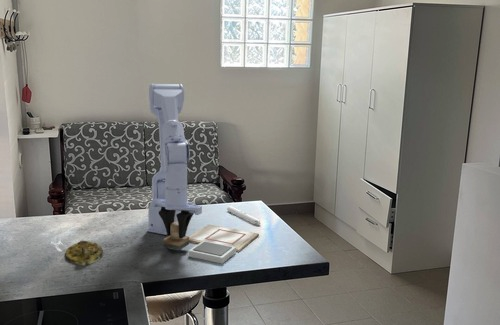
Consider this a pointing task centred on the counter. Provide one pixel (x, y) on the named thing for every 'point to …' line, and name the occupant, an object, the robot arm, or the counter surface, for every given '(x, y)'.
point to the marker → (243, 215)
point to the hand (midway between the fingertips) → (176, 235)
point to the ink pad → (212, 252)
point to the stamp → (175, 238)
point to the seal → (84, 253)
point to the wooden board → (223, 236)
